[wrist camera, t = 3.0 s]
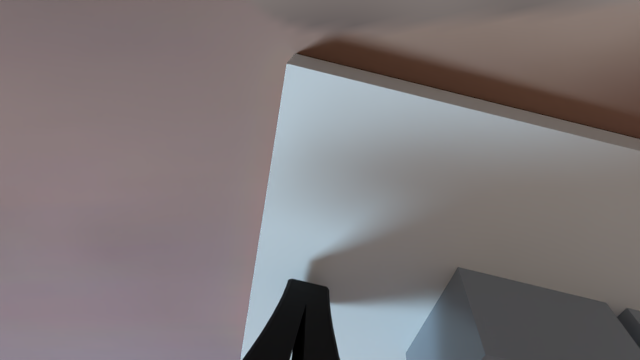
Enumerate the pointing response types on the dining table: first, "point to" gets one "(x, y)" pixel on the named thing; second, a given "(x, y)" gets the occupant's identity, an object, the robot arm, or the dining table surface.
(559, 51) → the dining table surface
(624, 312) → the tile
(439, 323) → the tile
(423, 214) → the board
